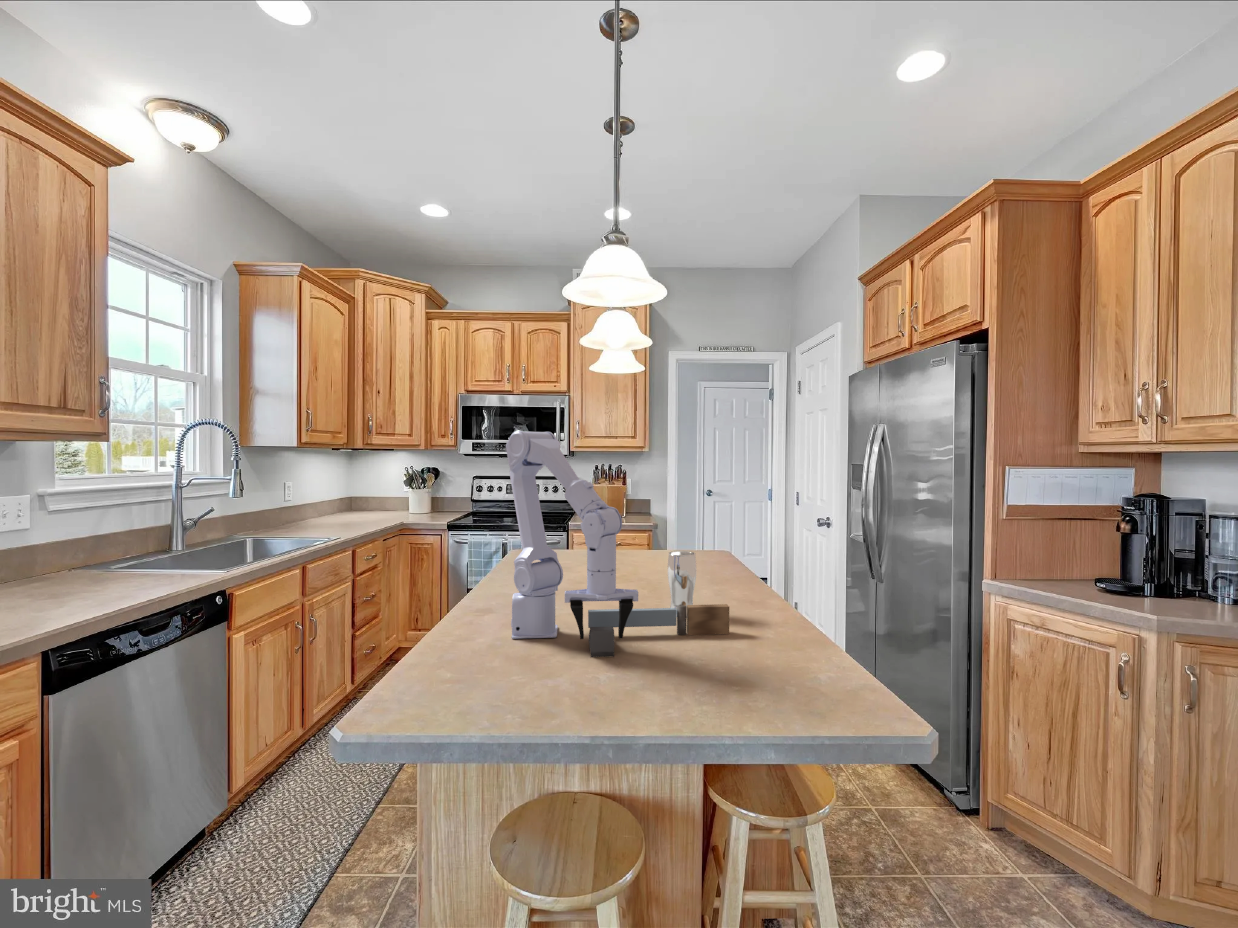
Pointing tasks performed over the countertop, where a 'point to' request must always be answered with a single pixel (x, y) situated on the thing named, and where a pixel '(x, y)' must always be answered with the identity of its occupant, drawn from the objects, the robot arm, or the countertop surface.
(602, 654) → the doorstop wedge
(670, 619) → the long pale blue beam
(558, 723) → the countertop surface
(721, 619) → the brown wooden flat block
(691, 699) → the countertop surface
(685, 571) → the beer glass
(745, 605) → the countertop surface
